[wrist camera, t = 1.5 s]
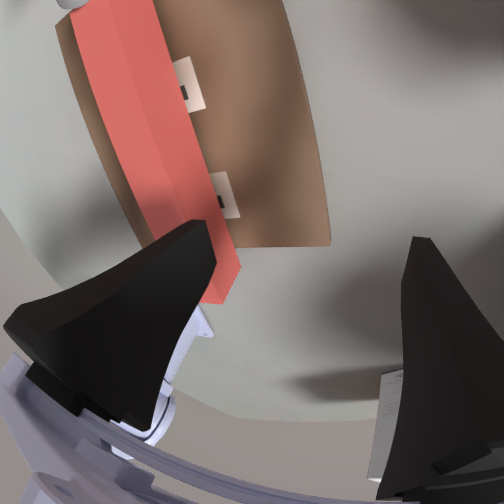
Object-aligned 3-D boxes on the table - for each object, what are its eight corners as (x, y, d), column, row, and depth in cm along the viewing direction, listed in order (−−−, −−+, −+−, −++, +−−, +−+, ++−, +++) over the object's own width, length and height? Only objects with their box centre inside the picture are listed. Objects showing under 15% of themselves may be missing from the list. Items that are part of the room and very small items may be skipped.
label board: (148, 243, 27) (142, 251, 26) (63, 23, 14) (52, 25, 13) (331, 237, 21) (329, 248, 20) (251, -81, 8) (244, -88, 7)
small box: (380, 373, 30) (364, 479, 20) (430, 360, 26) (425, 474, 16) (400, 397, 32) (389, 486, 23) (443, 387, 28) (438, 481, 19)
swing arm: (205, 266, 24) (181, 305, 21) (102, -22, 10) (52, -21, 7) (244, 266, 23) (223, 309, 20) (142, -49, 9) (92, -57, 6)
